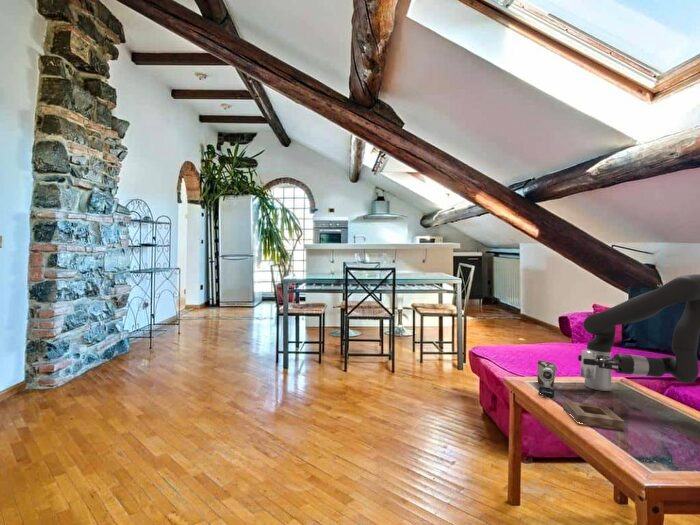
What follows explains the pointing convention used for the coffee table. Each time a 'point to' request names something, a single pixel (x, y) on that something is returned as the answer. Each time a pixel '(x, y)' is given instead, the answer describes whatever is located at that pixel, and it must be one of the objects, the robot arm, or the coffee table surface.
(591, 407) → the walnut socket block
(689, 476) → the coffee table surface
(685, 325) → the robot arm
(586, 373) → the ribbed metal cylinder
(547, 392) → the watch
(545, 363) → the food container
